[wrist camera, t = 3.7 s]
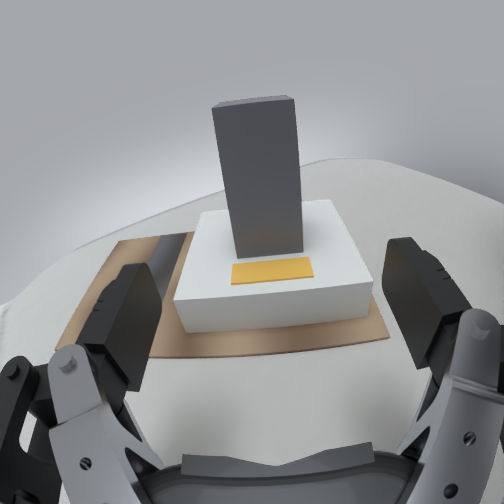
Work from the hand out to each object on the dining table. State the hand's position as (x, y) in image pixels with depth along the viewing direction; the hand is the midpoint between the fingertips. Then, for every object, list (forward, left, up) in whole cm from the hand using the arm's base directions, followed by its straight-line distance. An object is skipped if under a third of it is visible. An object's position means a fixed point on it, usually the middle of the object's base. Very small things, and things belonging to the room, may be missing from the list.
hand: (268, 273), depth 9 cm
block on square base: (0, -11, -8) cm, 14 cm away
